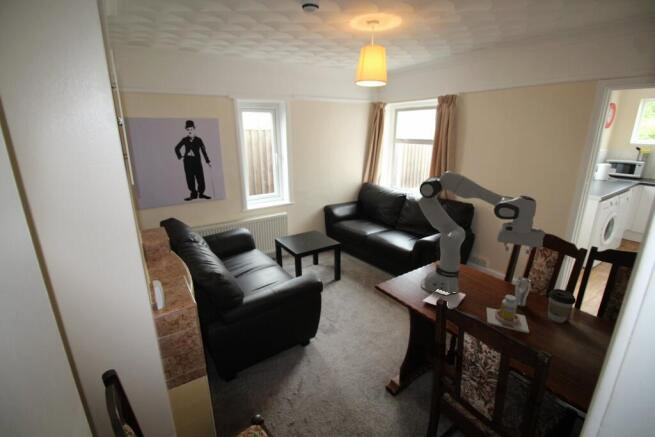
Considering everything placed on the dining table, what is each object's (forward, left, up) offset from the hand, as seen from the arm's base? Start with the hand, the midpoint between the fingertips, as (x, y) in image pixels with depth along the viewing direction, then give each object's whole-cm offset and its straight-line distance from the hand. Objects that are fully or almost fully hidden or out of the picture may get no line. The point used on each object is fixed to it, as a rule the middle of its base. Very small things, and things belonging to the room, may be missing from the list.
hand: (516, 251), depth 158 cm
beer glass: (+7, +6, -33) cm, 35 cm away
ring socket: (-1, -15, -33) cm, 36 cm away
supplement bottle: (-1, -15, -32) cm, 36 cm away
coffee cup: (+23, -2, -33) cm, 41 cm away
